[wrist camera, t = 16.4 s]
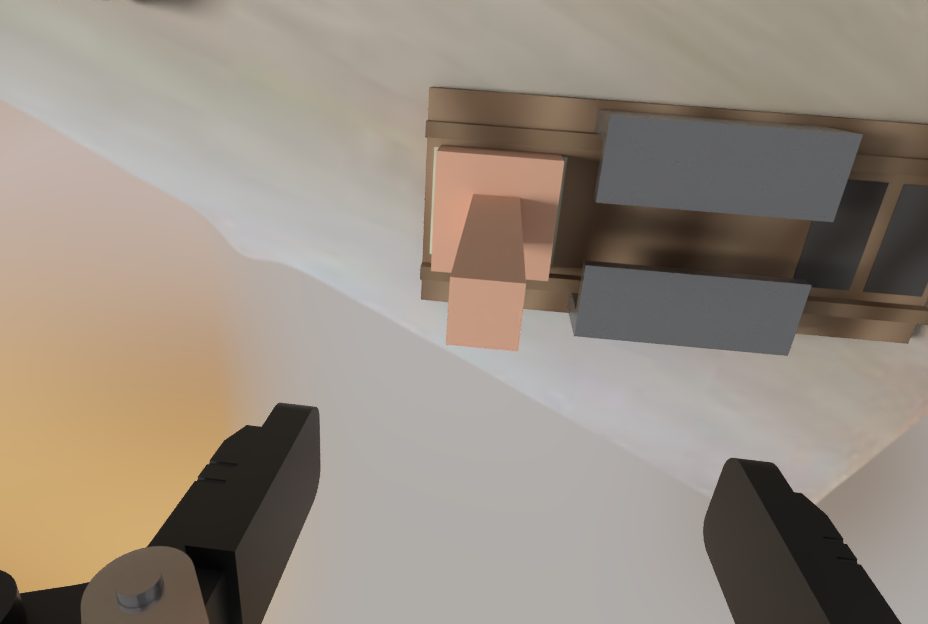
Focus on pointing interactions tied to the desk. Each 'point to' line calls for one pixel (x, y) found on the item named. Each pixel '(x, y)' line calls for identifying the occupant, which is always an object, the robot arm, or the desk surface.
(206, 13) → the desk surface
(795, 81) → the desk surface
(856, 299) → the track board
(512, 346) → the pink post on block
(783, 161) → the tunnel
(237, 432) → the robot arm
